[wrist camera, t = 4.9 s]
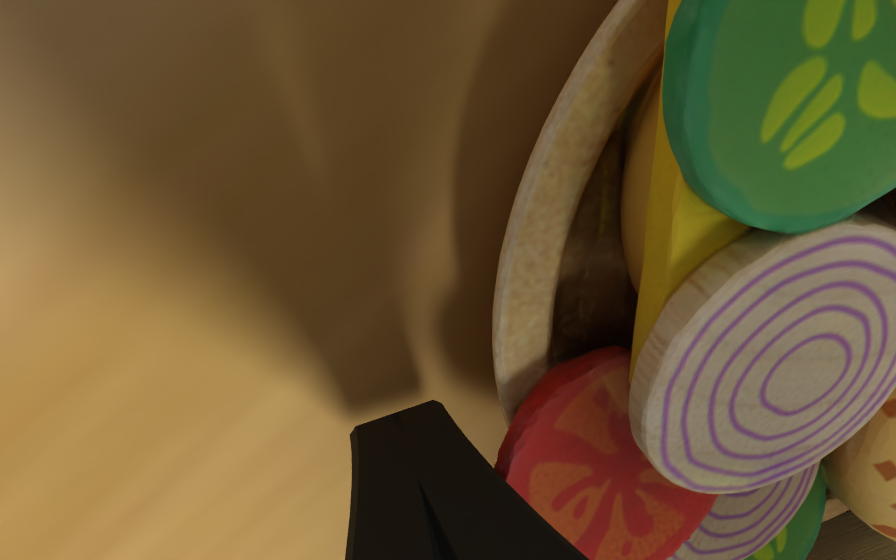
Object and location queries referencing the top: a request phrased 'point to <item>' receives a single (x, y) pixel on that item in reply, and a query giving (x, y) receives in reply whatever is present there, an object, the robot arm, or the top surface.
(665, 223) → the toy food set
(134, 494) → the top surface
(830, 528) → the tray
